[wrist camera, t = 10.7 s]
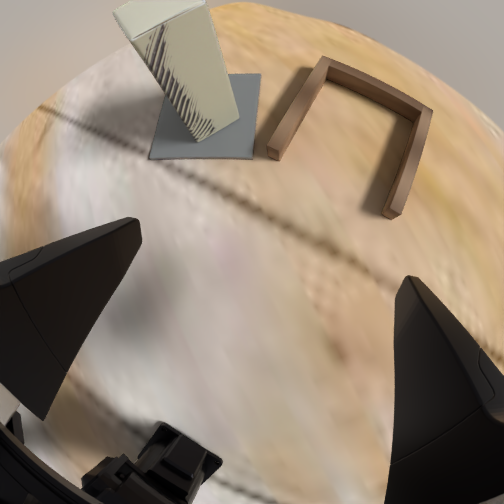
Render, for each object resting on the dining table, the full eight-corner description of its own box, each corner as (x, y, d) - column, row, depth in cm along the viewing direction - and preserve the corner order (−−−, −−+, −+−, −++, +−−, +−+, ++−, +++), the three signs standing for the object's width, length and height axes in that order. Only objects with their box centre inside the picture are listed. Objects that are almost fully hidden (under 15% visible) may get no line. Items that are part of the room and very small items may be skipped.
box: (174, 108, 23) (107, 11, 10) (216, 84, 22) (172, -25, 10) (199, 147, 22) (126, 41, 9) (244, 120, 22) (208, -2, 9)
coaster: (252, 159, 22) (252, 157, 21) (151, 159, 23) (149, 158, 22) (261, 76, 22) (261, 73, 22) (171, 81, 23) (170, 79, 23)
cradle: (391, 219, 20) (401, 214, 18) (268, 156, 22) (266, 145, 20) (424, 120, 20) (433, 110, 18) (320, 68, 22) (322, 55, 20)
